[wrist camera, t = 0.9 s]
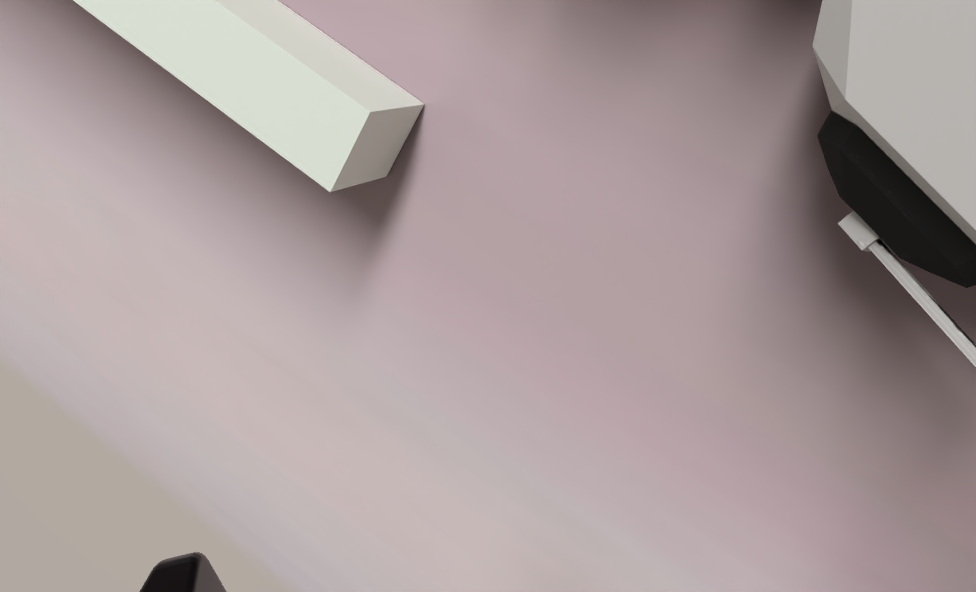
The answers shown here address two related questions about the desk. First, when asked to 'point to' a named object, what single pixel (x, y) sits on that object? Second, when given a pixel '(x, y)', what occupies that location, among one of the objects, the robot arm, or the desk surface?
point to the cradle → (275, 81)
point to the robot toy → (905, 136)
